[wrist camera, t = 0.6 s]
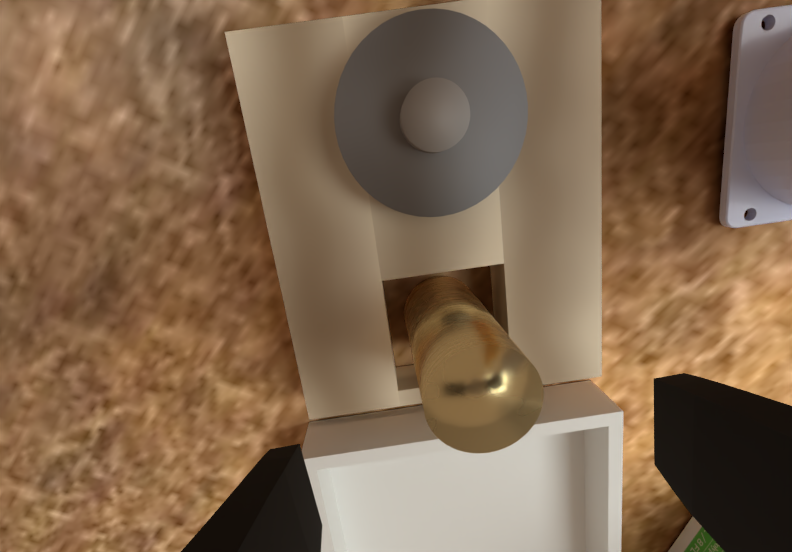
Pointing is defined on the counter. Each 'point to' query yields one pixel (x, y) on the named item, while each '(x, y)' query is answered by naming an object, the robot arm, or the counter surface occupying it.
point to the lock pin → (469, 369)
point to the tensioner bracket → (429, 179)
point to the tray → (471, 482)
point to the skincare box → (695, 540)
